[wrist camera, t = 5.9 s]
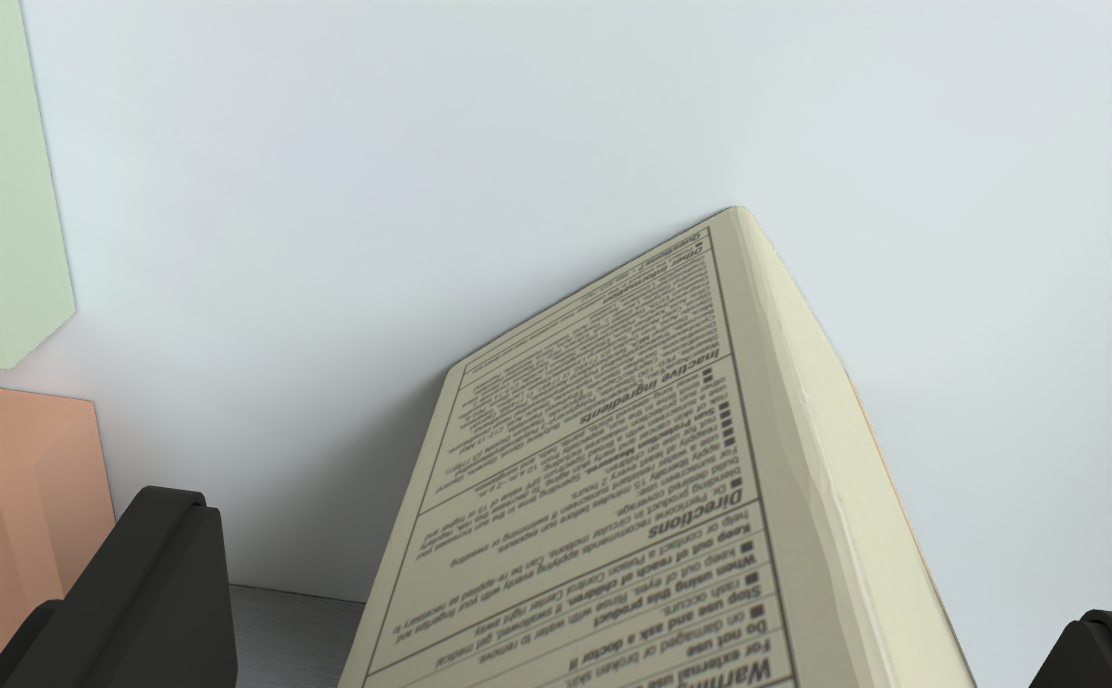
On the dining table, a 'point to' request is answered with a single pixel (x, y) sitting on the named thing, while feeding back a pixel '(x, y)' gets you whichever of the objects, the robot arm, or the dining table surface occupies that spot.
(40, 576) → the terracotta tray
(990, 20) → the dining table surface
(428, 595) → the skincare box
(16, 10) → the sage tray
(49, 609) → the robot arm
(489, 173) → the dining table surface
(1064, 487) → the dining table surface
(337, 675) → the charcoal unit
